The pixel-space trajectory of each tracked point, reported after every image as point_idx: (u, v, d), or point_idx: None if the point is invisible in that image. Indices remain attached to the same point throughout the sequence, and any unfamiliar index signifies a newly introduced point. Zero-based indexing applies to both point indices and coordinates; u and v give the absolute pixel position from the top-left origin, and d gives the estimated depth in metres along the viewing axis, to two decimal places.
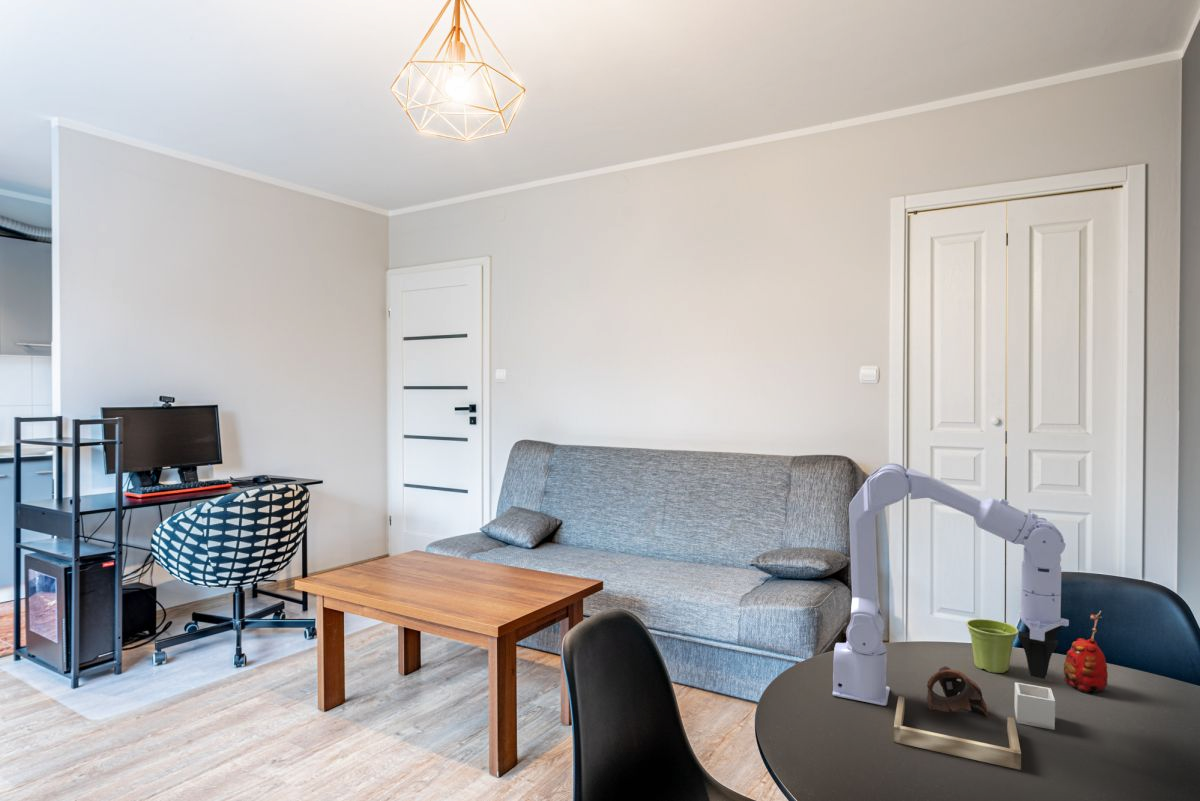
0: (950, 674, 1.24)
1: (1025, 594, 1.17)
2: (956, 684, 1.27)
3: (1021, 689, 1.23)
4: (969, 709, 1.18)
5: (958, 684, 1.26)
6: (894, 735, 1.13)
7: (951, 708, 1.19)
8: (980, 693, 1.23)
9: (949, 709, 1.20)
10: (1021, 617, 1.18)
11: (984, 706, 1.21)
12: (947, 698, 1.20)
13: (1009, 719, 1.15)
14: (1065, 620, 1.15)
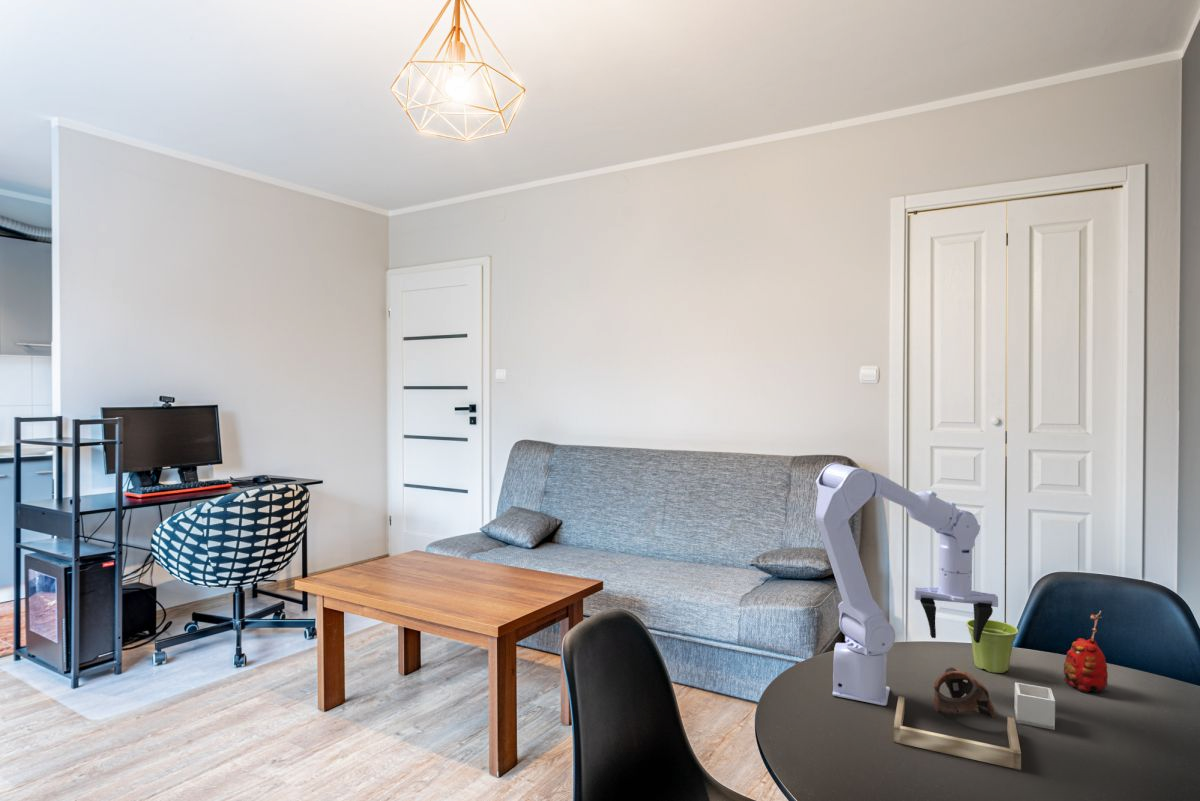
0: (957, 675, 1.24)
1: None
2: (962, 685, 1.26)
3: (1021, 689, 1.23)
4: (977, 710, 1.18)
5: (964, 685, 1.26)
6: (894, 735, 1.13)
7: (958, 710, 1.19)
8: (987, 694, 1.22)
9: (957, 711, 1.19)
10: None
11: (991, 707, 1.21)
12: (954, 699, 1.19)
13: (1009, 719, 1.15)
14: (958, 597, 1.30)
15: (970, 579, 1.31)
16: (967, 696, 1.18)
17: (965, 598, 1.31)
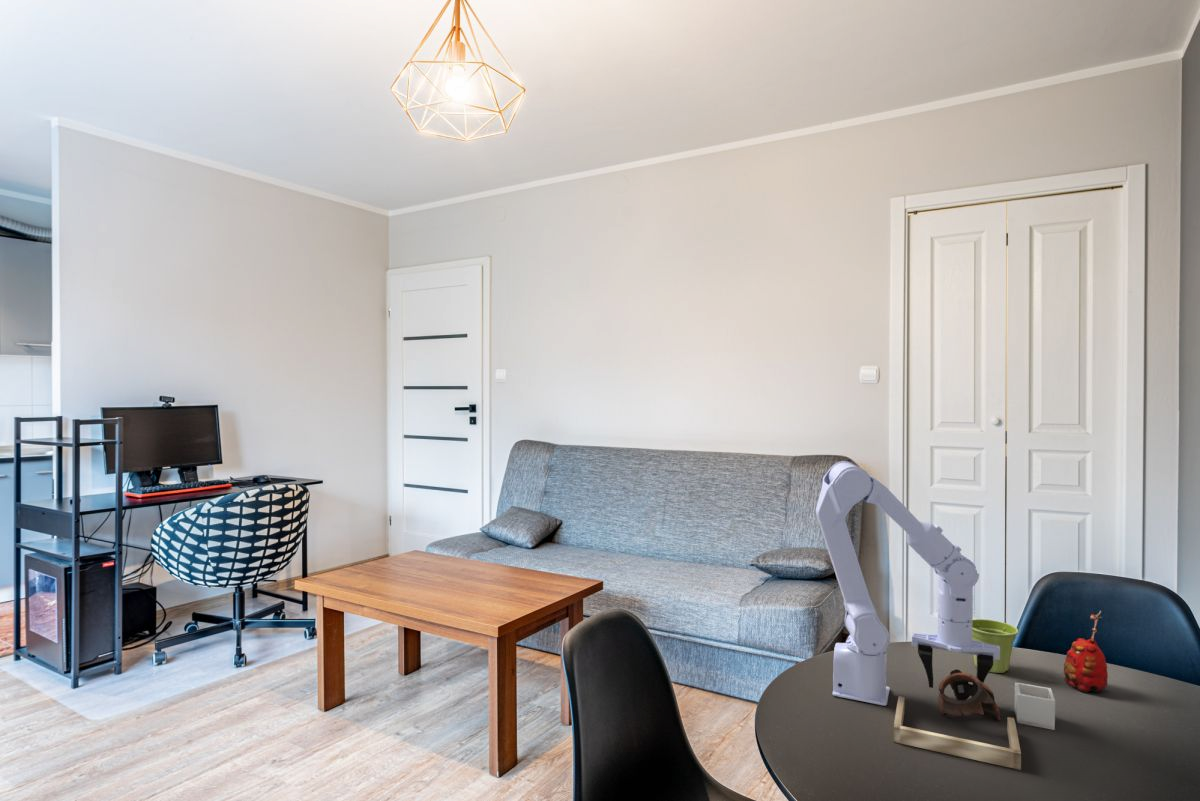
0: (962, 677, 1.23)
1: None
2: (967, 687, 1.25)
3: (1021, 689, 1.23)
4: (982, 713, 1.17)
5: (970, 687, 1.25)
6: (894, 735, 1.13)
7: (963, 712, 1.18)
8: (992, 696, 1.21)
9: (961, 713, 1.18)
10: None
11: (996, 710, 1.20)
12: (959, 702, 1.18)
13: (1009, 719, 1.15)
14: (955, 647, 1.24)
15: (969, 629, 1.25)
16: (972, 698, 1.17)
17: (963, 649, 1.25)
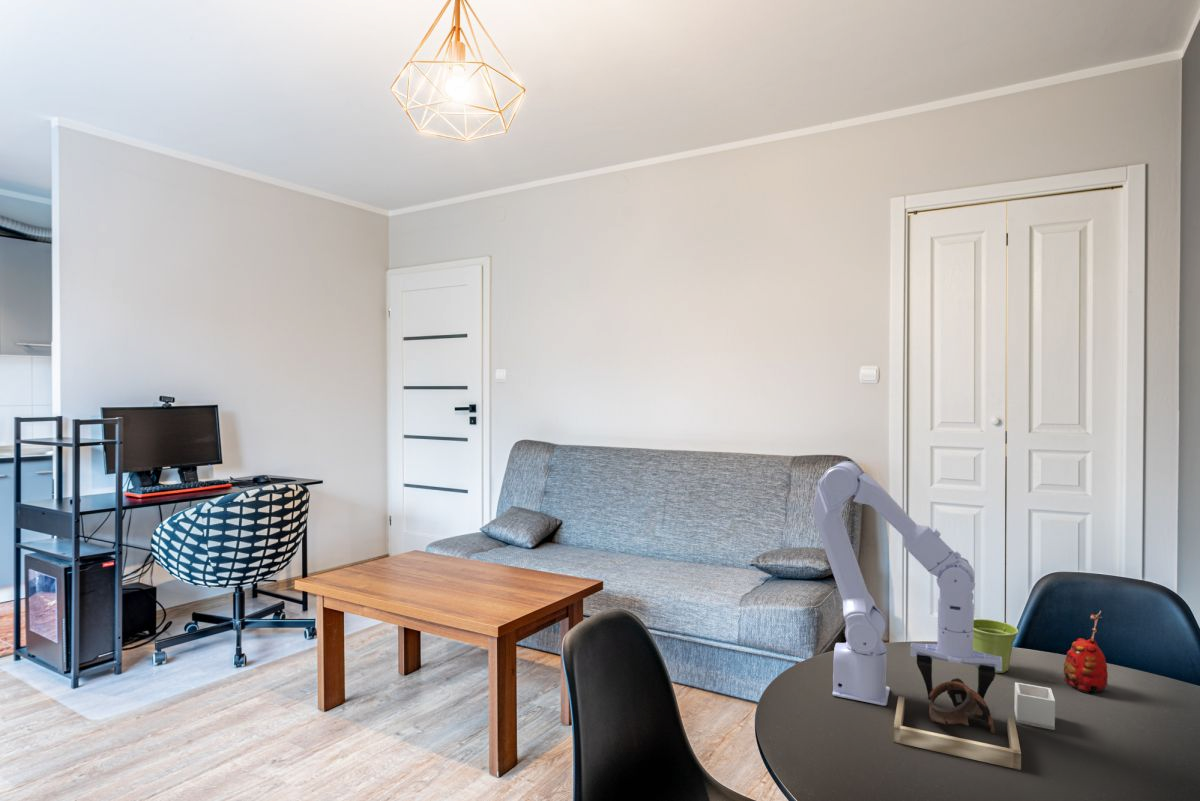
0: (955, 686, 1.19)
1: None
2: (965, 698, 1.21)
3: (1021, 689, 1.23)
4: (966, 723, 1.13)
5: None
6: (894, 735, 1.13)
7: (947, 721, 1.15)
8: (987, 709, 1.16)
9: (946, 721, 1.15)
10: None
11: (989, 723, 1.15)
12: (943, 710, 1.15)
13: (1009, 719, 1.15)
14: (955, 658, 1.20)
15: (970, 639, 1.20)
16: (956, 707, 1.14)
17: (963, 659, 1.20)
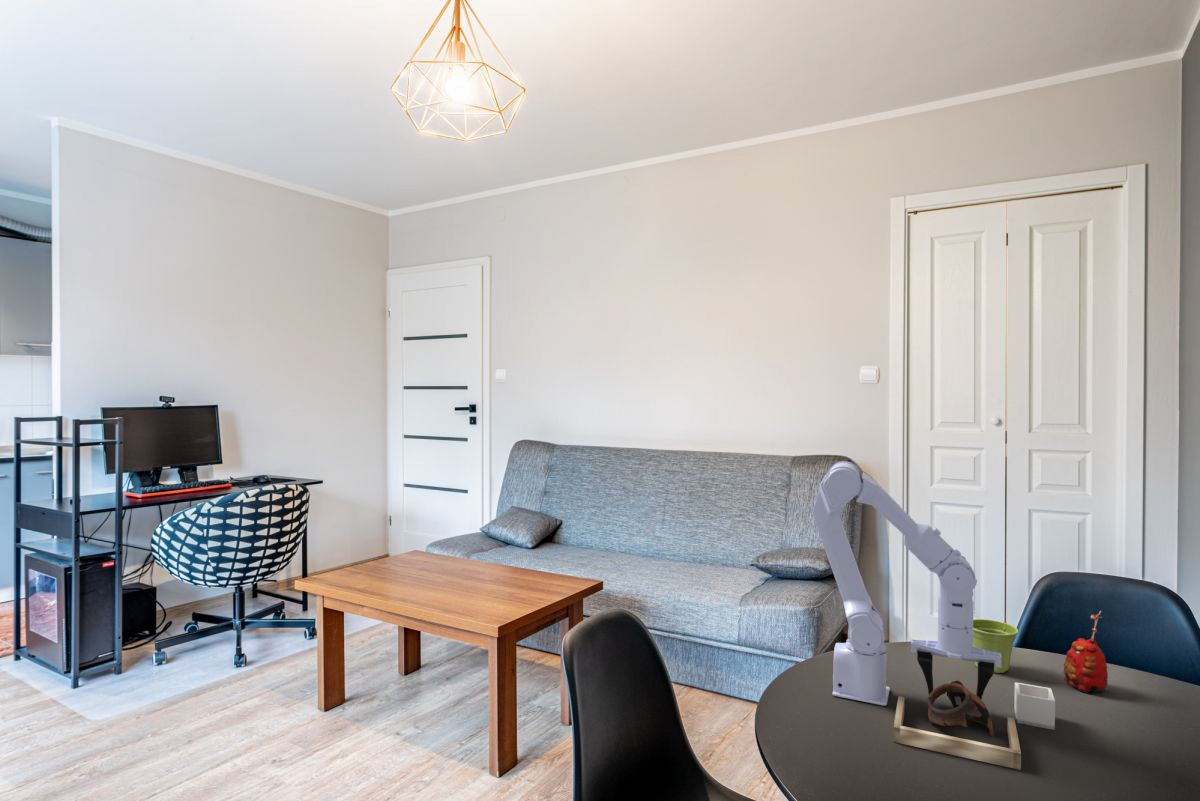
0: (955, 688, 1.19)
1: None
2: (965, 700, 1.20)
3: (1021, 689, 1.23)
4: (964, 725, 1.13)
5: None
6: (894, 735, 1.13)
7: (945, 722, 1.14)
8: (986, 711, 1.16)
9: (944, 723, 1.15)
10: None
11: (988, 725, 1.15)
12: (941, 711, 1.15)
13: (1009, 719, 1.15)
14: (955, 654, 1.21)
15: (970, 635, 1.22)
16: (955, 709, 1.14)
17: (963, 656, 1.21)
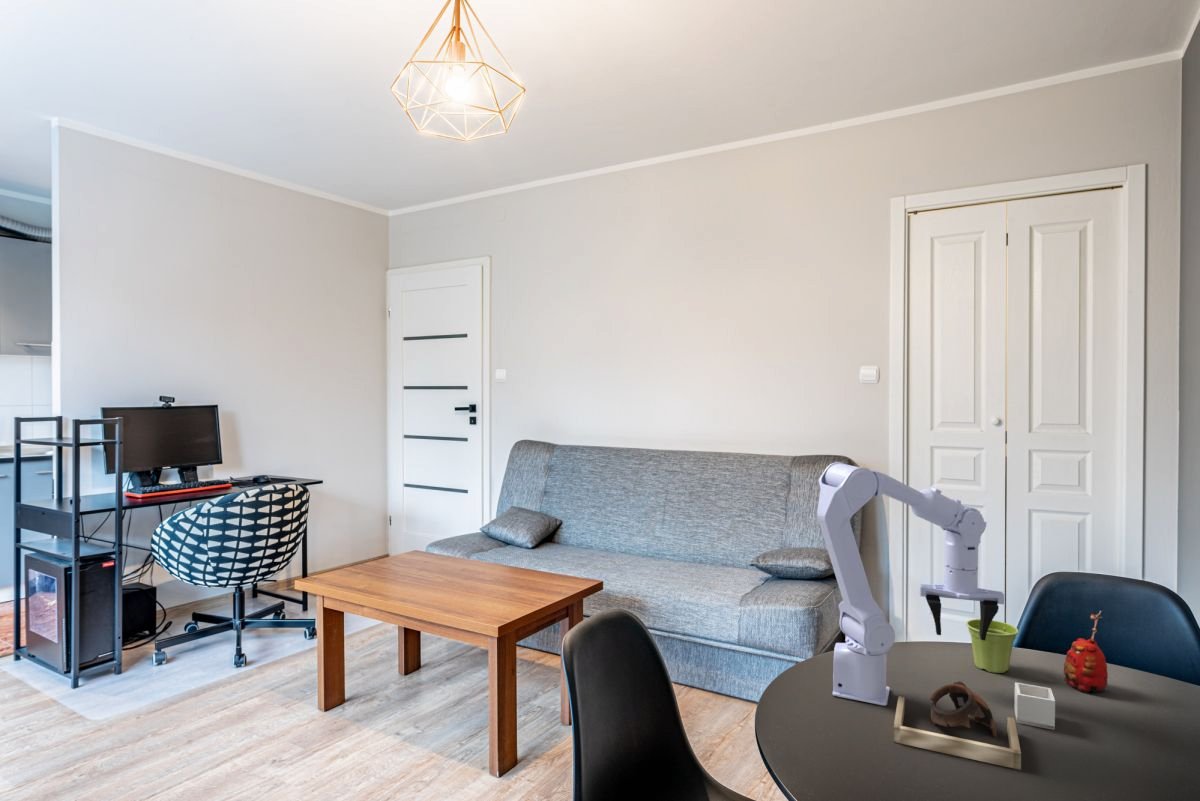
0: (957, 689, 1.18)
1: None
2: (967, 701, 1.20)
3: (1021, 689, 1.23)
4: (968, 726, 1.13)
5: None
6: (894, 735, 1.13)
7: (948, 723, 1.14)
8: (989, 712, 1.16)
9: (947, 724, 1.14)
10: None
11: (991, 726, 1.14)
12: (944, 712, 1.15)
13: (1009, 719, 1.15)
14: (964, 594, 1.30)
15: (976, 576, 1.31)
16: (958, 710, 1.13)
17: (970, 595, 1.30)
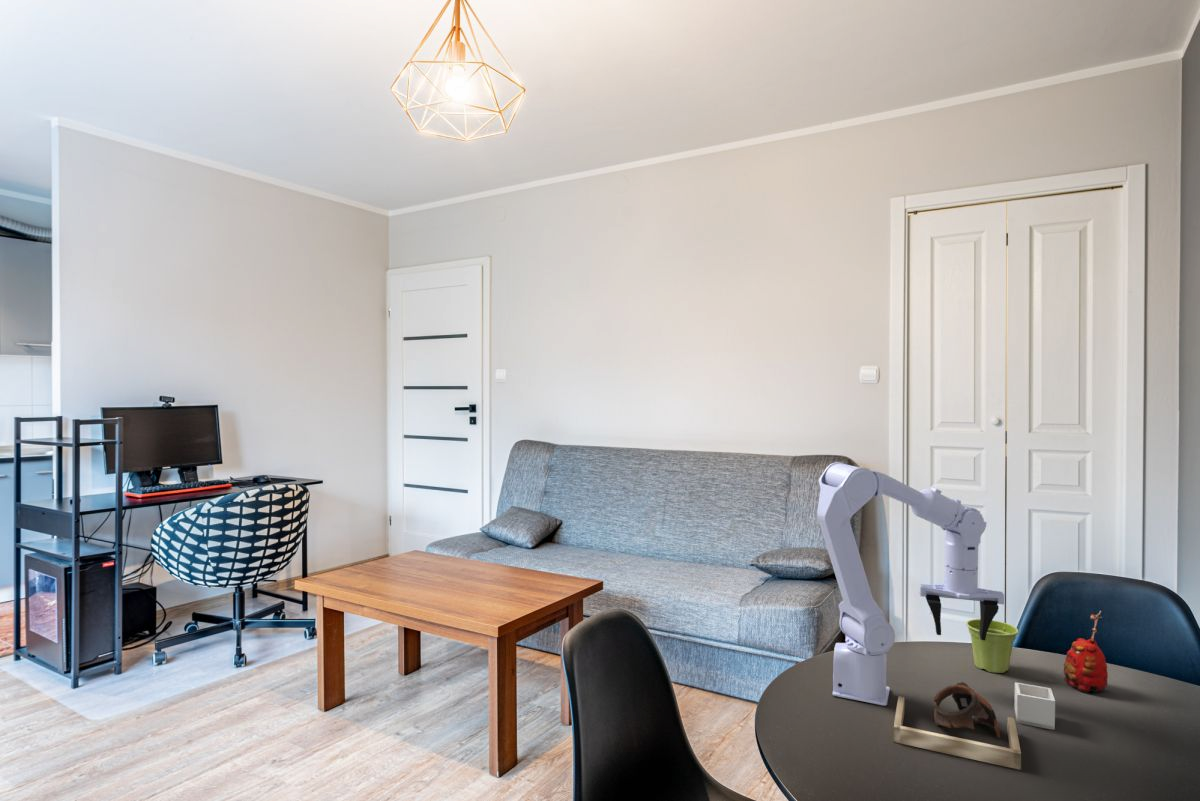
0: (961, 690, 1.18)
1: None
2: (971, 702, 1.20)
3: (1021, 689, 1.23)
4: (972, 727, 1.12)
5: None
6: (894, 735, 1.13)
7: (952, 724, 1.14)
8: (992, 713, 1.15)
9: (951, 725, 1.14)
10: None
11: (995, 727, 1.14)
12: (948, 713, 1.14)
13: (1009, 719, 1.15)
14: (964, 594, 1.30)
15: (976, 576, 1.31)
16: (962, 711, 1.13)
17: (970, 595, 1.30)
